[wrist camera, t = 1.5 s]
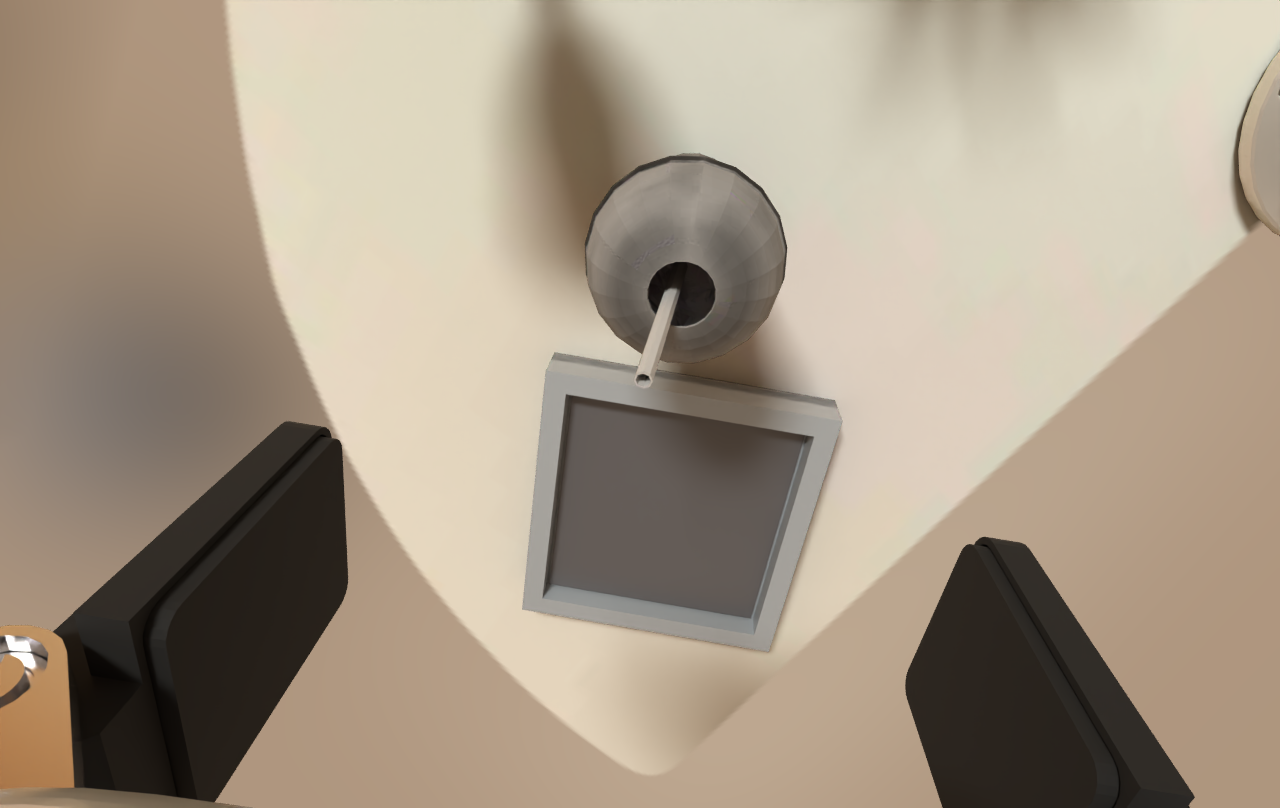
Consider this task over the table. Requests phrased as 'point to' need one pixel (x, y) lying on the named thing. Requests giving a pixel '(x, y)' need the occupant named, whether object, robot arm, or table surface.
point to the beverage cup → (684, 260)
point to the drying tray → (672, 500)
